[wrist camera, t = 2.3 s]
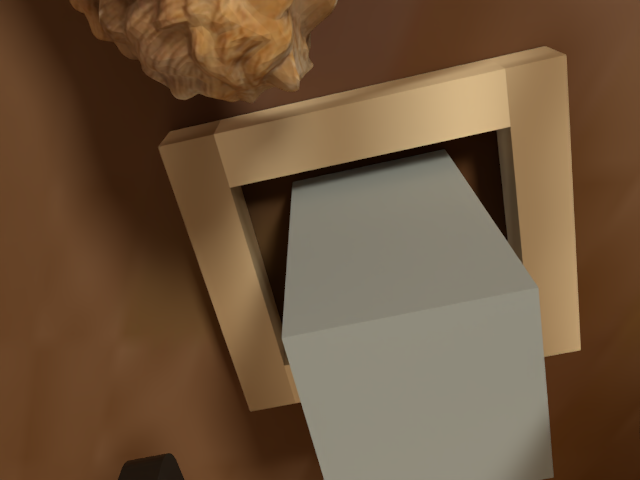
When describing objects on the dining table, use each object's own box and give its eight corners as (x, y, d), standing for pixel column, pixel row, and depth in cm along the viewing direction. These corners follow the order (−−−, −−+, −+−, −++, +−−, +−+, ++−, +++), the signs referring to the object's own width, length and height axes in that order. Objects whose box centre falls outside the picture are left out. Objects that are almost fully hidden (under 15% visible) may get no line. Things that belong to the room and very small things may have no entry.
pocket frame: (544, 46, 16) (566, 54, 15) (562, 322, 20) (580, 350, 19) (169, 131, 17) (158, 146, 16) (254, 381, 21) (250, 411, 20)
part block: (444, 148, 18) (538, 287, 10) (463, 282, 20) (553, 477, 12) (292, 181, 18) (281, 338, 11) (325, 309, 20) (334, 514, 13)
